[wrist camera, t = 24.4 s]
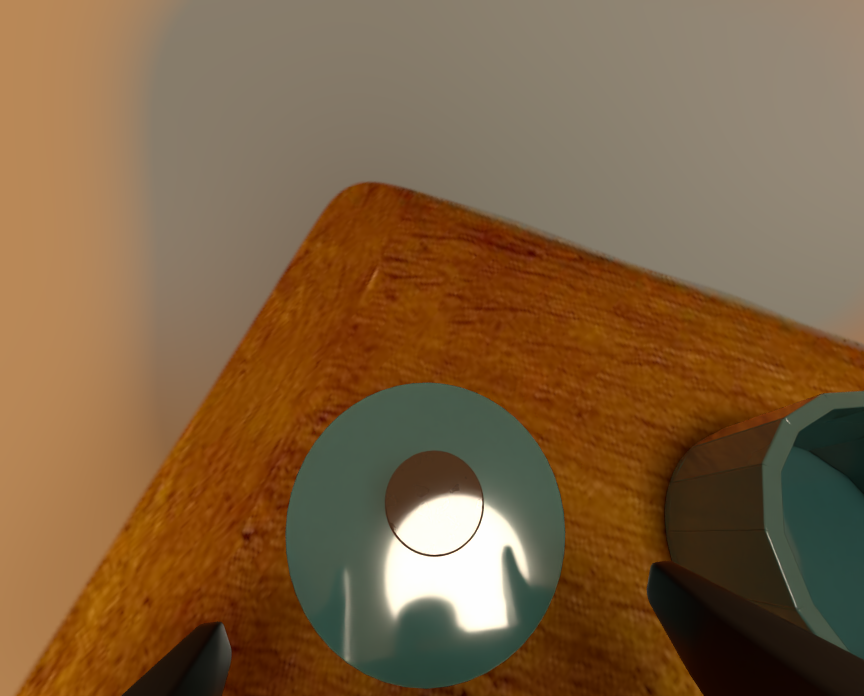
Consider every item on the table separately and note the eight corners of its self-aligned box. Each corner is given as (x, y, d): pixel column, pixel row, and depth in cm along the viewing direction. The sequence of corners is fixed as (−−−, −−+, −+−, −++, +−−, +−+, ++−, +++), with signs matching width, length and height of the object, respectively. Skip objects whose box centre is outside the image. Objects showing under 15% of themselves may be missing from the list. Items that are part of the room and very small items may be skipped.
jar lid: (454, 760, 13) (492, 966, 7) (235, 540, 16) (115, 543, 10) (602, 489, 17) (711, 462, 11) (407, 348, 20) (404, 259, 14)
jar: (799, 769, 14) (1013, 899, 9) (616, 490, 17) (695, 473, 13) (970, 610, 16) (1214, 642, 11) (776, 393, 20) (896, 347, 15)
